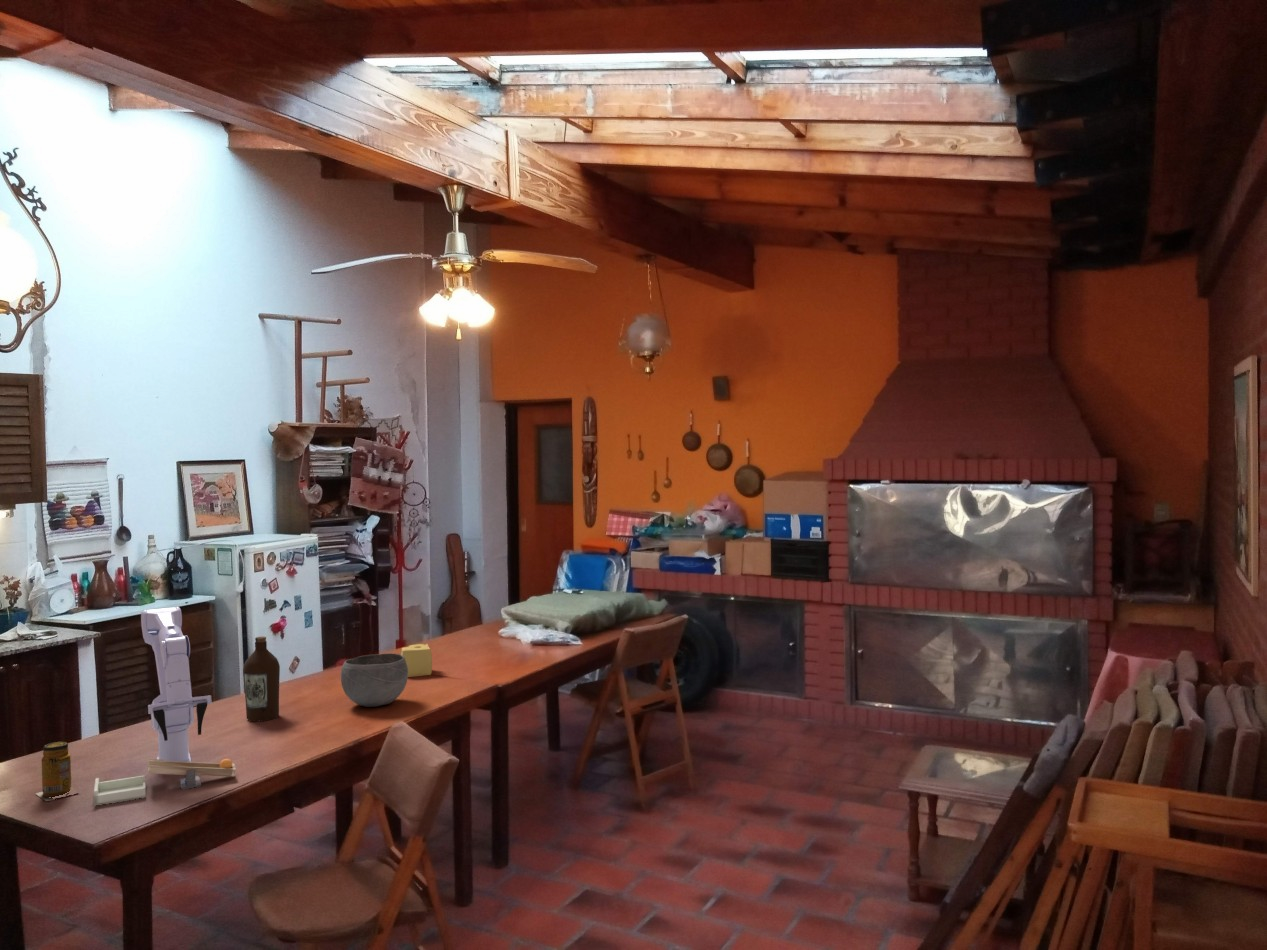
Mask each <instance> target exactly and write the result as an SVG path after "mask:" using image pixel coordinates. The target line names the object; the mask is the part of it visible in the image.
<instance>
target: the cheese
mask: <svg viewBox="0 0 1267 950" xmlns="http://www.w3.org/2000/svg"><path fill="white" fill-rule="evenodd" d="M400 655H403V656H404V658H405V660H406V663H407V667H408V678H413V677H422V676H431V675H432V670H433V654H432V651H431V648H430V646H429V644H428V643H418V644H411V645H408V646H407V647H406V646H404V647H401V651H400Z"/></svg>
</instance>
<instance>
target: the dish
mask: <svg viewBox="0 0 1267 950" xmlns="http://www.w3.org/2000/svg"><path fill="white" fill-rule="evenodd" d="M146 790H147V789H146V775H139V776H138V775H137V776H132V777H124V778H118V779H112V780H105V781H100V777H96V778H95V781H94V789H93V799H94V802H93V803H94V807H97V806H96V805H100V806H103V805H102V804H106V805H110V804H109V803H112V804H117V802H118V803H122V802H123V801H124V802H130V801H135V799H136V800H140V799H139V798H142V799H145V798H144V797H147V794H146V792H147V791H146ZM129 800H130V801H129Z"/></svg>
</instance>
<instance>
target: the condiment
mask: <svg viewBox="0 0 1267 950" xmlns="http://www.w3.org/2000/svg"><path fill="white" fill-rule="evenodd" d="M42 751H43V752H42V754H43V755H42V758H41V782H42V783H41V786H42V791H40V792H36V793H35V795H37V796H38V798H41V799H42V800H44V801H45V802H48V801H49V802H50V801H51V802H52V801H55V799H53V798H52V797H55V796H59V795H63V794H65V793H67V792H69V791H70V790H71V788H72V769H71V763H72V762H71V754H70V753H69V743H68V742H66V741H57V742H56V741H55V742H49V743H47V744H45V745H43V747H42ZM49 797H51V798H49Z"/></svg>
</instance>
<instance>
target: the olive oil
mask: <svg viewBox="0 0 1267 950" xmlns="http://www.w3.org/2000/svg"><path fill="white" fill-rule="evenodd" d="M254 640H255V641H254V648H255V649H254V651H253V652H252V653H251V654H250V655H249V657H247V658H246V660H245V662H244V665H243V667H242V668H243V669H242V674H243V684H244V696H245V713H246V720H247V719H248V720H247V721H249V720H251V721H250V722H265V721H264V720H266V721H271V720H274V719H276V717H277V718H278V717H279V715H280V675H281V674H280V673H281V672H280V670H281V669H280V668H281V667H280V666H281V665H280V663H279V660H278V658H277V657H276V656H275V655H274V654H273V653H272V652H271V651H269V649H268V647H267V646H268V643H267V636H257V637H255V638H254ZM270 719H271V720H270Z"/></svg>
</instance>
